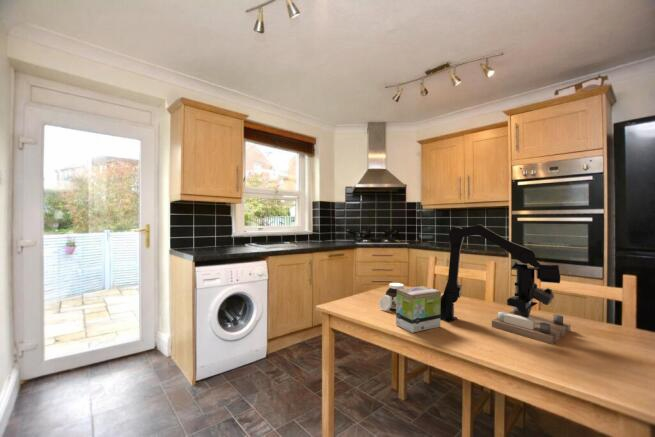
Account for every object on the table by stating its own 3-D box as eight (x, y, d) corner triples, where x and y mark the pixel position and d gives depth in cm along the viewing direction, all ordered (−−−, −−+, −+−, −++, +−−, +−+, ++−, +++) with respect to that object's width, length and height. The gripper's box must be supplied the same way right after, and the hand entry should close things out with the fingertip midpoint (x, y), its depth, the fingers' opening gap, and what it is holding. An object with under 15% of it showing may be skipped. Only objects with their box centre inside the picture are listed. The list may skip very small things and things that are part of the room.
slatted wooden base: (552, 344, 100) (552, 328, 100) (491, 326, 116) (491, 312, 116) (570, 330, 112) (570, 316, 112) (513, 316, 128) (513, 303, 128)
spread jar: (409, 308, 140) (409, 284, 139) (401, 315, 130) (401, 289, 130) (385, 304, 146) (385, 281, 146) (376, 310, 136) (376, 285, 136)
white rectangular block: (496, 320, 116) (496, 312, 116) (500, 318, 118) (500, 311, 118) (532, 330, 106) (532, 321, 106) (535, 327, 108) (535, 319, 108)
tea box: (413, 334, 109) (413, 294, 109) (395, 325, 118) (395, 288, 118) (441, 326, 116) (441, 290, 116) (422, 319, 125) (422, 284, 125)
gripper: (541, 289, 99) (541, 334, 100) (559, 280, 110) (559, 321, 111) (506, 283, 108) (506, 324, 108) (525, 275, 119) (525, 313, 120)
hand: (525, 320), depth 112 cm, fingers closed
